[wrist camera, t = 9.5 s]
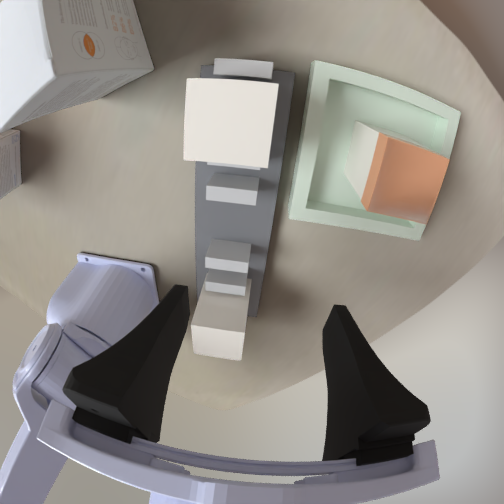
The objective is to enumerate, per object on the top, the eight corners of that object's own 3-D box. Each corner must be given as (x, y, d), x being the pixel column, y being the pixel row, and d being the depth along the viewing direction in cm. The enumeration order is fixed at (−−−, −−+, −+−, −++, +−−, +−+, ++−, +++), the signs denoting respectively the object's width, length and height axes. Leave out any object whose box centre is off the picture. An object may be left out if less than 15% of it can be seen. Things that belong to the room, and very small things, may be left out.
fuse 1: (210, 135, 17) (183, 160, 12) (214, 79, 15) (186, 78, 10) (270, 141, 17) (267, 168, 12) (277, 84, 15) (278, 83, 10)
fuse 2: (207, 303, 26) (193, 353, 21) (206, 272, 24) (190, 324, 19) (247, 309, 26) (241, 360, 21) (251, 278, 24) (244, 332, 19)
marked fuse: (342, 173, 18) (366, 211, 13) (354, 119, 16) (387, 136, 11) (391, 184, 18) (426, 224, 13) (405, 134, 16) (449, 159, 11)
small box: (77, 26, 12) (-22, 28, 3) (133, -10, 11) (38, -41, 2) (98, 101, 16) (-5, 137, 8) (157, 71, 15) (55, 77, 6)
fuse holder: (199, 305, 28) (192, 329, 25) (204, 62, 15) (190, 58, 12) (256, 313, 28) (254, 338, 25) (294, 69, 14) (299, 66, 12)
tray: (287, 206, 20) (288, 218, 19) (311, 62, 14) (315, 60, 12) (410, 228, 20) (419, 240, 19) (446, 107, 14) (460, 112, 12)
